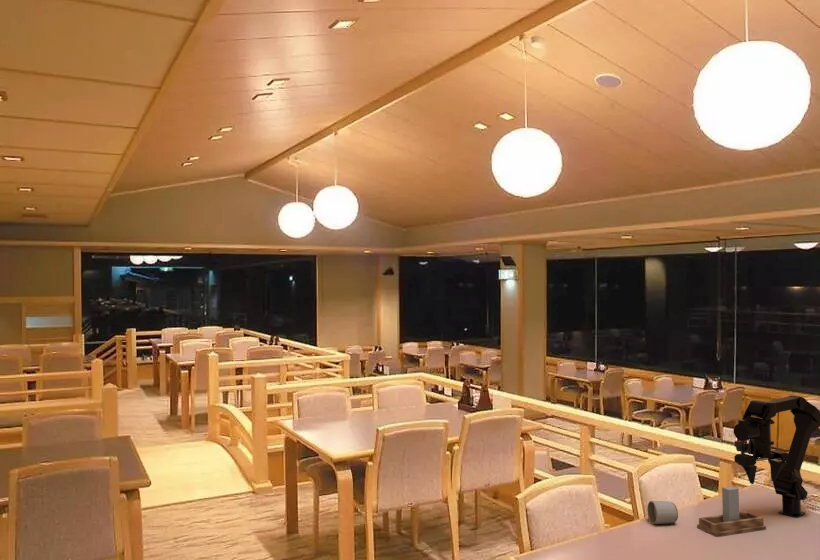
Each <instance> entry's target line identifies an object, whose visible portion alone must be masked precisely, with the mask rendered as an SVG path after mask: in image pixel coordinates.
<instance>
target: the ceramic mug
mask: <svg viewBox="0 0 820 560" xmlns="http://www.w3.org/2000/svg"><path fill="white" fill-rule="evenodd" d="M646 510H647V516H648V519H649V522H650V523H651V524H652V525H663V524H666V525H667V524H669V525H670V524H675V523H676V522H677V521H678V518H679V510H678V508H677V506H676V504H675V503H674V502H672V501H669V500H667V501H666V500H665V501H664V500H650V501H648V503H647V509H646Z"/></svg>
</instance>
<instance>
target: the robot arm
mask: <svg viewBox="0 0 820 560" xmlns="http://www.w3.org/2000/svg"><path fill="white" fill-rule="evenodd" d="M786 411H790V414H792V415H793V423H794V426H795V431H794V434H793V436H792V437H793V438H792V440H791V444H790V446H789V450H788V452H786V451H782V450H779V449H774V450H773V449H772V446H773V445H774V444H775V443H774V441H772V436H771V435H772V433H771V431H772V430H771V429H772V428H771V425H774V424H775V423H776V422H775V421H774V420H773V419H772V418H774V417H776V416H777V414H779V413H782V412H786ZM819 428H820V409H818V407H817V406H815V404H814V405H813V404H811V403H810V402H809V401H808V400H807V399H806V398H805V397H803V396H797V395H794V394H791V395H789V396H786V397H782V398H781V397H780V398H777V399H776V398H775V399H771V400H758V399H753V400H751V401H749V404H748V405H747V407H746V409H745V411H744V414H743V416H742V418H741V419H739V420H738V423H737V424H735V426H734V428H733V431H732V432H733V435H734V436H735V438H736V439H737V440H739V441H736V442H735V449H736V452H740V453H737V454H735V455H734V458H733V459H734V462H735V463H736V464H738V465H740V466H741V467H742V468H743V470H744V471H745V474H746V476H747V478H748V481H749V483H750V484H751V485H754V484H755V480H756V475H757V474H756V473H757V467H758V466H757V465H756V464H757V462H760V461H761V462H762V461H767V462H768V463H769V466H770V467H769V468H770V478H771V481H772V485H773V488H774V490H775V493H776V495H781V500H782V501H781V502H782V503H781V504H782V506H781V507H782V509H780V510H778V511H777V512H778V514H782V515H786V516H788V517H794V518H800V517H801V516H803V515H806V512H805V511H802V504H801V503H802V502H801V501H805V500H806V499H807V498H808V494H809V493H808V491H807V490H806V488H804V486H803V477H802V474H801V470H802V466H803V463H804V459H805V455H806V453H807V449H808V446H809V443H810V440H811V436H812V434H813V433H815V432H816V431H817V430H818V429H819ZM744 441H748V443H745V442H744Z"/></svg>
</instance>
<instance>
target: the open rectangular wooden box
mask: <svg viewBox="0 0 820 560" xmlns="http://www.w3.org/2000/svg"><path fill="white" fill-rule="evenodd" d="M764 521H765V520H764V517H762V516H760V515H757V514H754V512H750V511H747V510H745V511H739V520H735V521H728V522H723V514H717V515H713V516H712V515H711V516H705V517H699V518H698V523H697V524H696V528H697V529H700V530H702V531H704V532H706V533H708V534H710V535H711V536H714V537H716V538H719V537H725V536H731V535H738V534H745V533H753V532H759V531H760V532H761V531H765V530H767V526H766V525H764V524H765V522H764Z"/></svg>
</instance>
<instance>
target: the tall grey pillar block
mask: <svg viewBox="0 0 820 560" xmlns="http://www.w3.org/2000/svg"><path fill="white" fill-rule="evenodd" d="M739 491H740V490H739V488H738V487H735V486H723V487H721V498H722V501H721V502H722V515H723V522H728V521H735V520H739V512H740V495H739V494H740V492H739Z"/></svg>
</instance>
